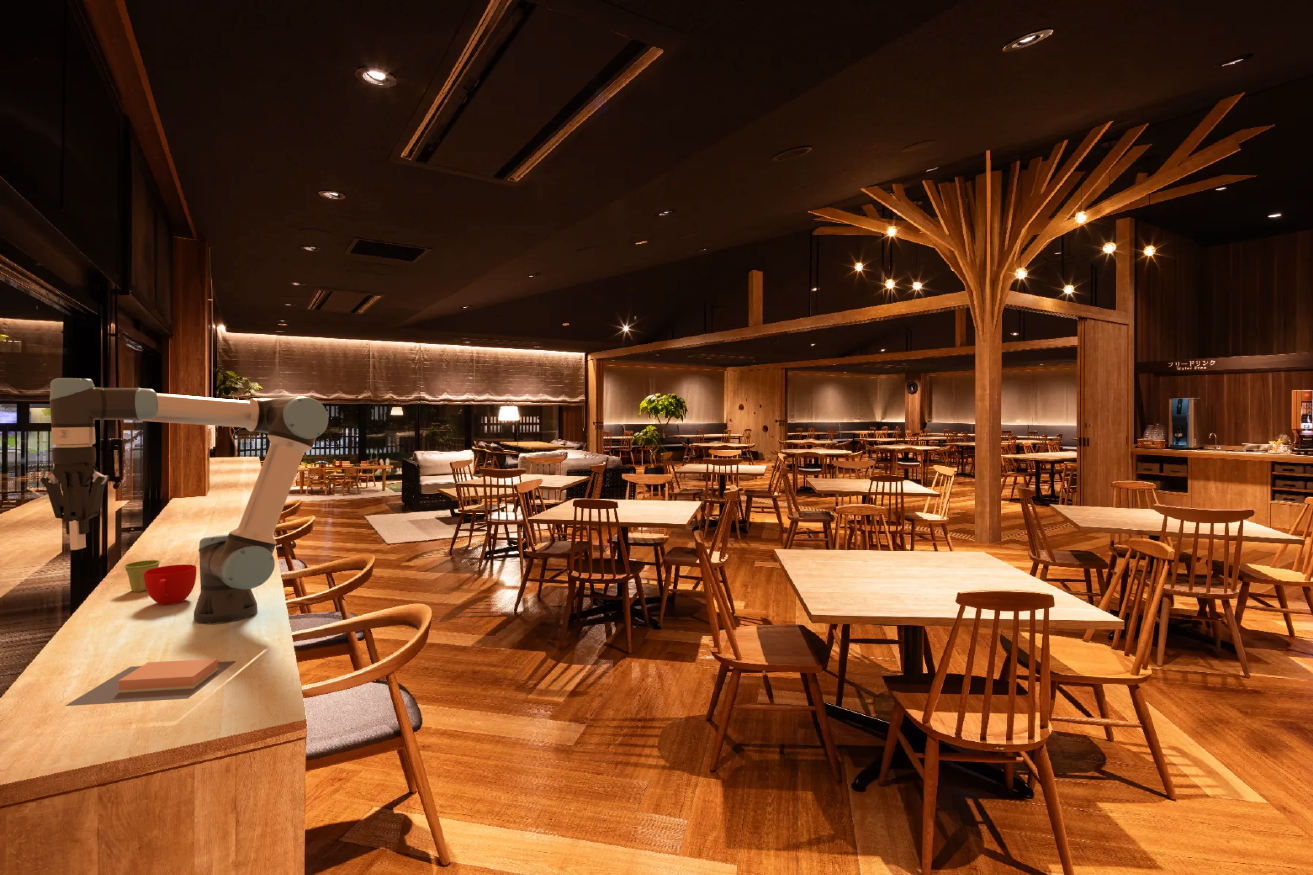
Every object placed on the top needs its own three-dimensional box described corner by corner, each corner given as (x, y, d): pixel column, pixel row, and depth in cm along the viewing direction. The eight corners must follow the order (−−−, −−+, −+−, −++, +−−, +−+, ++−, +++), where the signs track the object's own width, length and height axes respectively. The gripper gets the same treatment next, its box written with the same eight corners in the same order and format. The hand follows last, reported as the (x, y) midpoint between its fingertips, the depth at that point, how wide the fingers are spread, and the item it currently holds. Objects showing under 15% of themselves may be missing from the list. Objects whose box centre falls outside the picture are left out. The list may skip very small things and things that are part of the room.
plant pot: (146, 593, 212) (145, 566, 212) (117, 593, 213) (116, 566, 212) (168, 585, 222) (167, 559, 221) (140, 585, 222) (139, 559, 222)
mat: (65, 708, 130) (65, 705, 130) (130, 669, 150) (130, 666, 150) (188, 701, 133) (188, 698, 133) (236, 663, 153) (236, 660, 153)
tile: (118, 680, 136) (193, 676, 138) (148, 662, 146) (217, 658, 148) (118, 692, 136) (193, 688, 138) (148, 673, 146) (218, 669, 148)
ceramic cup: (134, 614, 191) (133, 579, 190) (151, 598, 206) (150, 566, 206) (188, 608, 196) (187, 574, 196) (201, 594, 212) (200, 562, 211)
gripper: (29, 447, 148) (33, 552, 149) (94, 446, 150) (98, 550, 151) (54, 445, 155) (58, 546, 156) (116, 444, 157) (120, 544, 158)
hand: (78, 548), depth 154 cm, fingers closed
